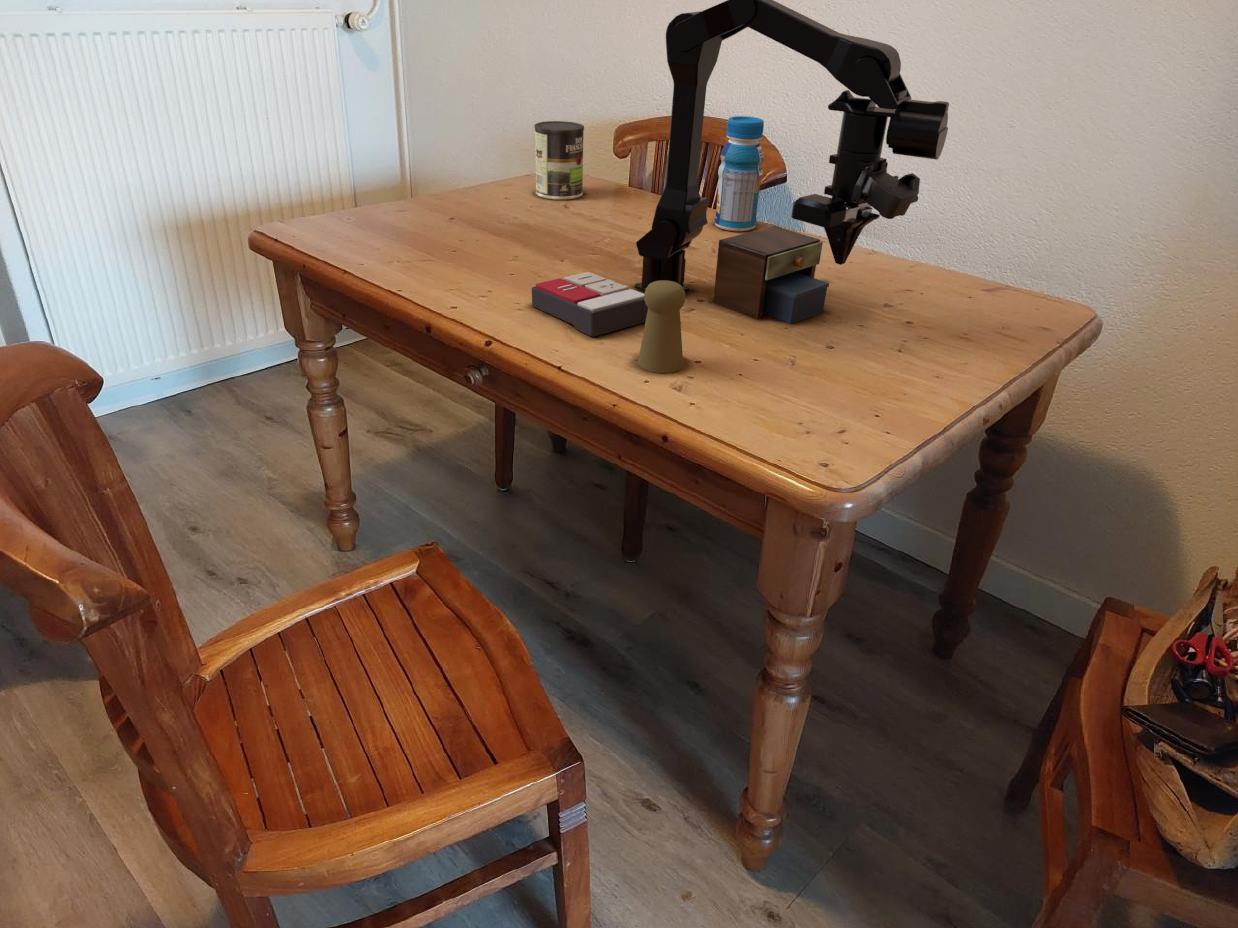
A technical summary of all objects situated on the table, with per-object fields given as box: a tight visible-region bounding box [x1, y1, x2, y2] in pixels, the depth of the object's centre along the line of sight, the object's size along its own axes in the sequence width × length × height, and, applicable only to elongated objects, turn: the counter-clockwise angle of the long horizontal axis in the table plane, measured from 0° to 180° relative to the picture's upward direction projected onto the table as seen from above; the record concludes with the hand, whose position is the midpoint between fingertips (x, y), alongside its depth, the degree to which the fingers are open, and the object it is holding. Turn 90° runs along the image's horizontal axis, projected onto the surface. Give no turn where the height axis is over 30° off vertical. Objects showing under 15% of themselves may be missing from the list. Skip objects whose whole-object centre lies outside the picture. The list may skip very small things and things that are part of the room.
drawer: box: [765, 241, 824, 280], centre depth 132 cm, size 13×10×3 cm
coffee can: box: [534, 120, 585, 201], centre depth 185 cm, size 10×10×14 cm
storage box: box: [762, 272, 830, 325], centre depth 134 cm, size 8×12×5 cm
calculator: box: [531, 271, 648, 337], centre depth 129 cm, size 11×4×15 cm
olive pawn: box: [637, 280, 686, 374], centre depth 113 cm, size 6×6×11 cm
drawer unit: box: [712, 225, 821, 320], centre depth 134 cm, size 13×9×10 cm
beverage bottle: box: [714, 115, 765, 232], centre depth 167 cm, size 8×8×20 cm
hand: (839, 263), depth 124 cm, fingers closed
